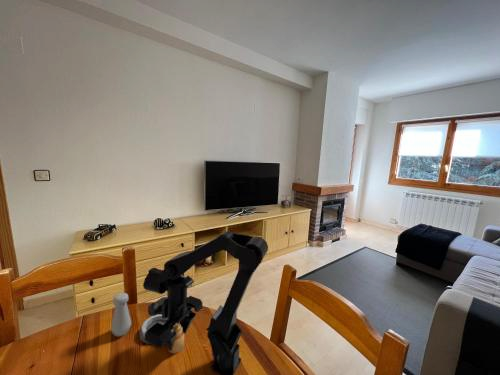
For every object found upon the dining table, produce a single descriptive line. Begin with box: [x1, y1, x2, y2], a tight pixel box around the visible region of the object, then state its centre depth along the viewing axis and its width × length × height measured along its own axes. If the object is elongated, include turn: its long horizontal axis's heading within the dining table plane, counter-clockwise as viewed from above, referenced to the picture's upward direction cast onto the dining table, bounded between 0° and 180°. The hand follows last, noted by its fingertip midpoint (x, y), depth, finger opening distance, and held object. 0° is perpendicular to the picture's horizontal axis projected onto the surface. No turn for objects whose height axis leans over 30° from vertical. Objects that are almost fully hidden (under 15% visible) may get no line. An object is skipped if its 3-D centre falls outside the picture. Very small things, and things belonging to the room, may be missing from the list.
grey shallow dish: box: [139, 315, 167, 345], centre depth 72 cm, size 11×11×2 cm
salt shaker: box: [110, 292, 132, 338], centre depth 70 cm, size 6×6×13 cm
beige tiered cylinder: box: [167, 323, 185, 355], centre depth 66 cm, size 5×5×7 cm
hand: (176, 343), depth 66 cm, fingers closed on beige tiered cylinder, 5 cm apart
